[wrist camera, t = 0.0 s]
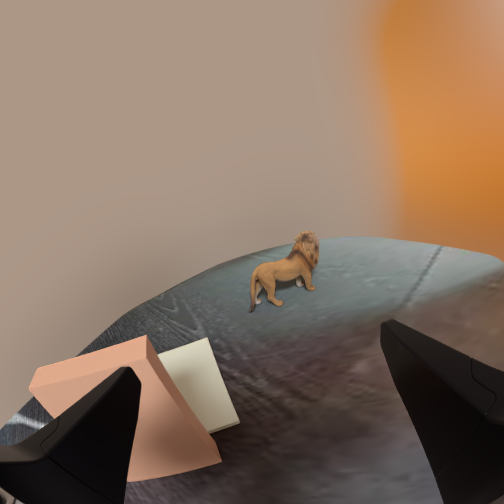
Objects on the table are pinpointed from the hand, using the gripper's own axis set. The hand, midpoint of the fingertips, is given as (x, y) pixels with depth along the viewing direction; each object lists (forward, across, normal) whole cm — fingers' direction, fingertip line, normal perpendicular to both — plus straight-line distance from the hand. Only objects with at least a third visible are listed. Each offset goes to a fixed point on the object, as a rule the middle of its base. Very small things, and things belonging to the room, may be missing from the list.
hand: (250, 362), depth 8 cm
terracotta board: (+4, +12, +17) cm, 21 cm away
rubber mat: (+14, +16, +16) cm, 26 cm away
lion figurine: (+33, -2, +17) cm, 37 cm away
